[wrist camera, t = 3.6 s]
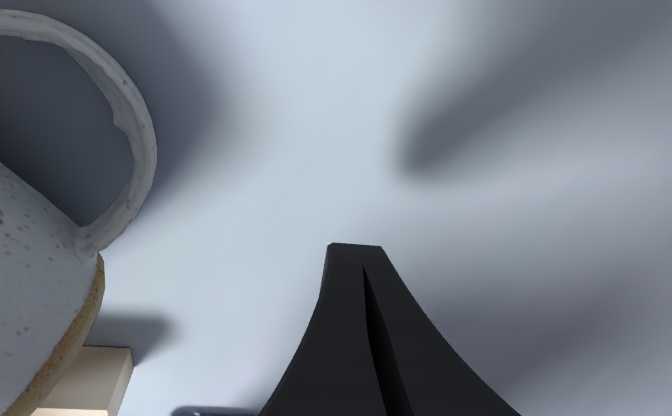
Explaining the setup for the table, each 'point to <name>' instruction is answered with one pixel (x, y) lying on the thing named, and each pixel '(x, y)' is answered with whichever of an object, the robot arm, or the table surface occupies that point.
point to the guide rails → (91, 384)
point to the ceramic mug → (61, 235)
